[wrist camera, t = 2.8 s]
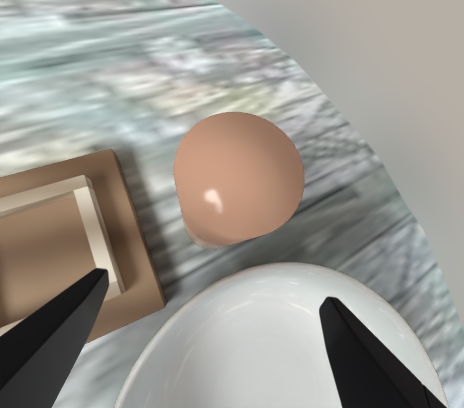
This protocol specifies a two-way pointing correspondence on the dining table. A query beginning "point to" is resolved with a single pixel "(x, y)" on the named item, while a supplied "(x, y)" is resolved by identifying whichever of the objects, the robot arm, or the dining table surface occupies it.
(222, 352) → the serving bowl
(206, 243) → the peach rounded block
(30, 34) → the dining table surface
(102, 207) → the display stand
